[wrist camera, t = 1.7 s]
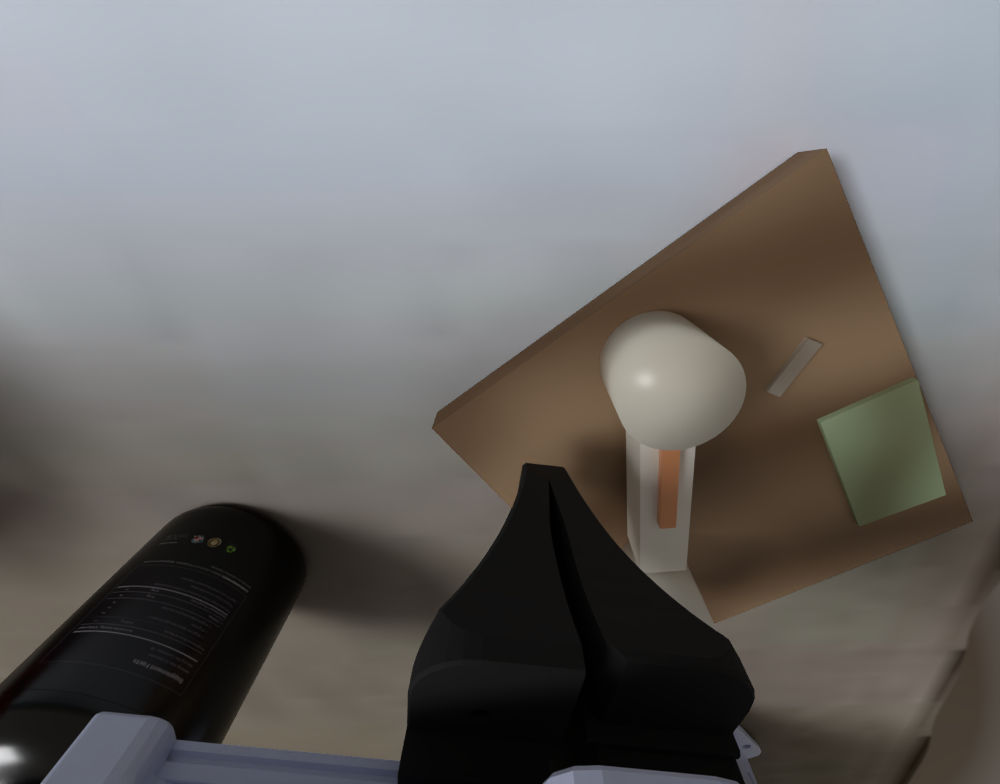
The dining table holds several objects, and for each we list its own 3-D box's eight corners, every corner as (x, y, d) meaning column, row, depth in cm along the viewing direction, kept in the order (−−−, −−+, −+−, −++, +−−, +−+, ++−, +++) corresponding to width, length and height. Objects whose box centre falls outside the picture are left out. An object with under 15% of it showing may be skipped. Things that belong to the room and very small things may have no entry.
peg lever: (685, 582, 17) (722, 666, 14) (609, 587, 17) (629, 671, 14) (707, 303, 12) (772, 343, 9) (597, 318, 12) (624, 361, 9)
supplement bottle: (302, 613, 22) (94, 1028, 11) (169, 579, 21) (-198, 994, 10) (322, 523, 19) (61, 973, 8) (168, 480, 18) (-354, 917, 7)
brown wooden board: (943, 500, 17) (977, 524, 16) (644, 625, 21) (652, 652, 20) (798, 152, 12) (831, 147, 10) (437, 412, 16) (430, 431, 15)
